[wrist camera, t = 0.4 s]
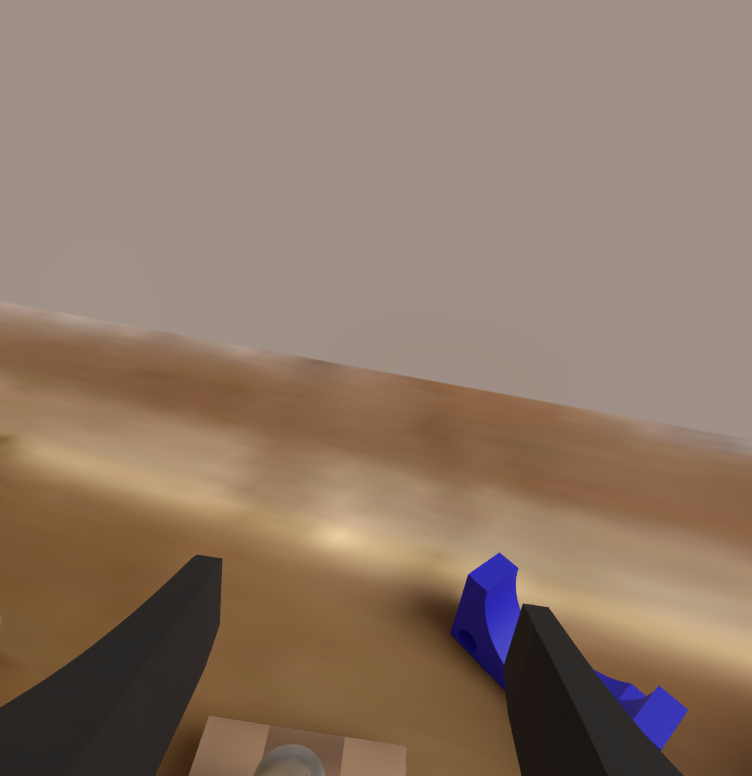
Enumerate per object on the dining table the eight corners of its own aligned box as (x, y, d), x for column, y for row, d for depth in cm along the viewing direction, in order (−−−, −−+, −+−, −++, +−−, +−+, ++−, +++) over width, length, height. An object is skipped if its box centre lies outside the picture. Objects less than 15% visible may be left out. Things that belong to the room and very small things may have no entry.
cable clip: (655, 750, 30) (700, 692, 27) (616, 807, 28) (660, 749, 25) (493, 601, 38) (513, 542, 35) (449, 635, 35) (468, 574, 32)
